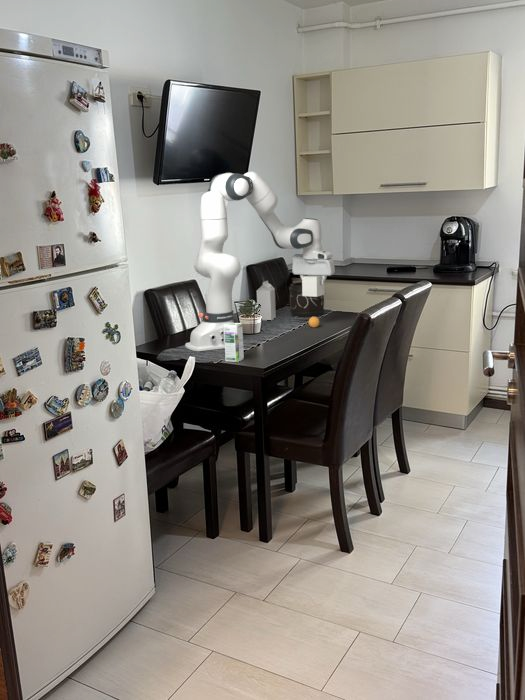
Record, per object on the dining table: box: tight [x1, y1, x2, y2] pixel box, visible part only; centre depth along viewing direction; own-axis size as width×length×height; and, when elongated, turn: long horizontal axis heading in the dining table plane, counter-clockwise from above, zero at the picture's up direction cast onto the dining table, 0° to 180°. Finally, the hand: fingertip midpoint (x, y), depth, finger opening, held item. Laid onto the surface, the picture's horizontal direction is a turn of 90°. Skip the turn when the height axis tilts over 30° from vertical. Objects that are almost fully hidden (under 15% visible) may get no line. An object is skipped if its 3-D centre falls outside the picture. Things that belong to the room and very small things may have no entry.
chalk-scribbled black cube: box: [288, 281, 325, 318], centre depth 343 cm, size 18×18×16 cm
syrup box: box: [224, 322, 245, 363], centre depth 262 cm, size 6×6×14 cm
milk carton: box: [256, 280, 277, 321], centre depth 335 cm, size 7×7×19 cm
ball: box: [308, 317, 320, 328], centre depth 314 cm, size 5×5×5 cm
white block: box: [301, 275, 325, 297], centre depth 310 cm, size 7×7×9 cm
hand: (313, 284), depth 310 cm, fingers closed on white block, 7 cm apart
